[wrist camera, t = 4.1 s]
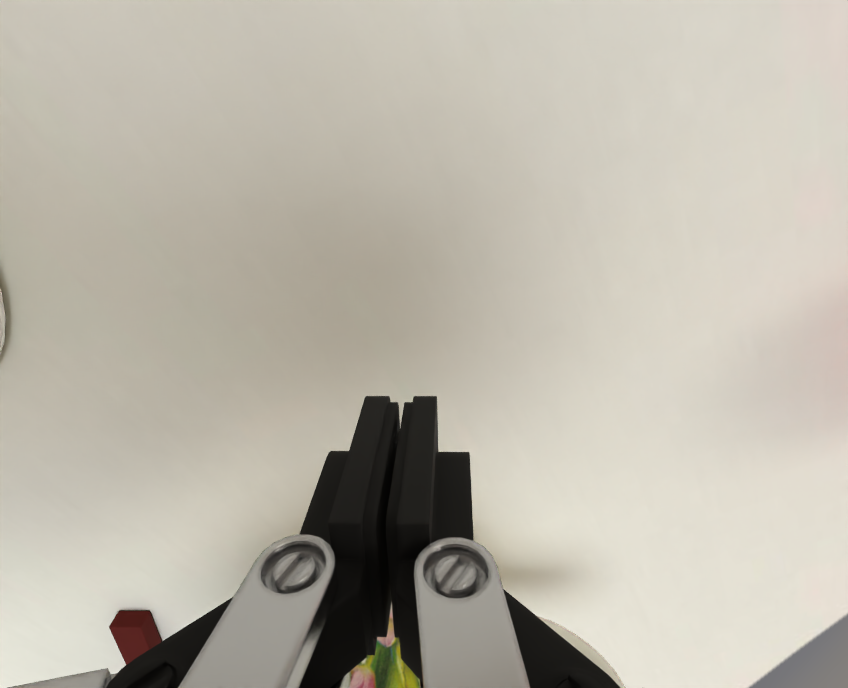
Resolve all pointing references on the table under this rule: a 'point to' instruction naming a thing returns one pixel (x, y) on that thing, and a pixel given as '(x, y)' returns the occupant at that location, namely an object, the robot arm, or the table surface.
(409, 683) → the pitcher
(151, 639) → the spatula
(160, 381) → the table surface
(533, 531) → the table surface
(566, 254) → the table surface
